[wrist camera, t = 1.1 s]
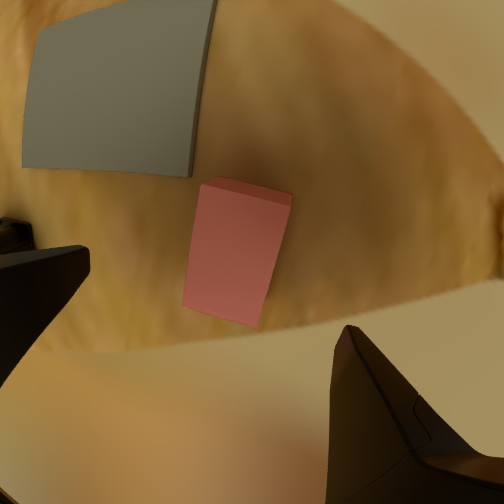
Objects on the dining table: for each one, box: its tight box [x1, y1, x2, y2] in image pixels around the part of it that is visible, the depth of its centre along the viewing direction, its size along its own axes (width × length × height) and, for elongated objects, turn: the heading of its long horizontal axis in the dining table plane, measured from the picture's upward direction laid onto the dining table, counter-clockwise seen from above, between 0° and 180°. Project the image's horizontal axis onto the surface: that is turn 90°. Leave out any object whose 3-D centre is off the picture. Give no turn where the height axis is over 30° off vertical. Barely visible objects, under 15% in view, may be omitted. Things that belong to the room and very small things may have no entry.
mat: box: [22, 0, 217, 178], centre depth 17 cm, size 18×14×1 cm
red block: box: [182, 176, 293, 328], centre depth 19 cm, size 5×8×4 cm, turn 167°
